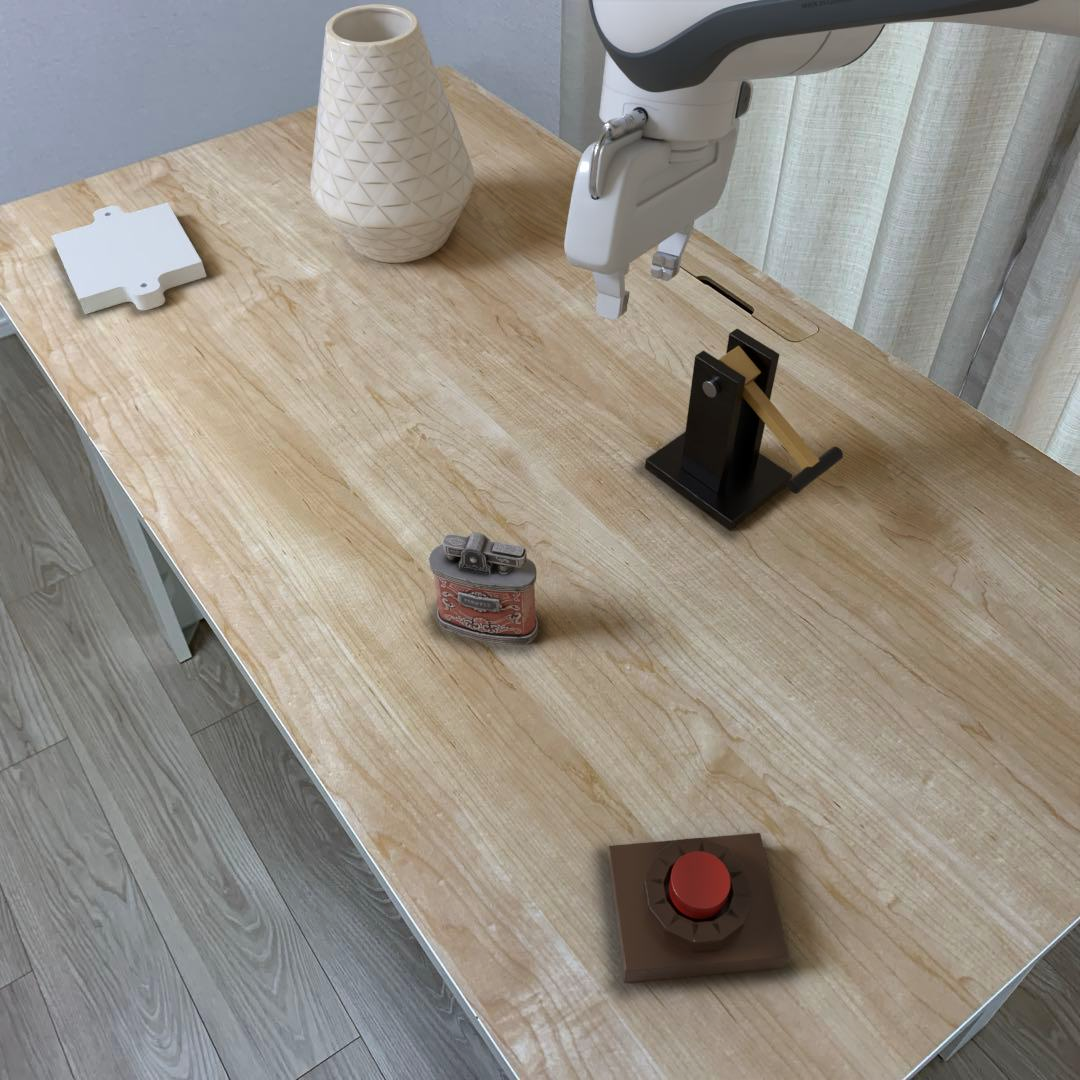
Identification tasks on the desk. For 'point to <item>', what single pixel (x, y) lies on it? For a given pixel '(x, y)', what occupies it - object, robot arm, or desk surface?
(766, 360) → the switch bracket
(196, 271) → the mounting plate
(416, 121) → the vase
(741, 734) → the desk surface
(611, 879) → the button box
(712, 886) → the light button
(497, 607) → the lighter
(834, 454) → the switch lever
